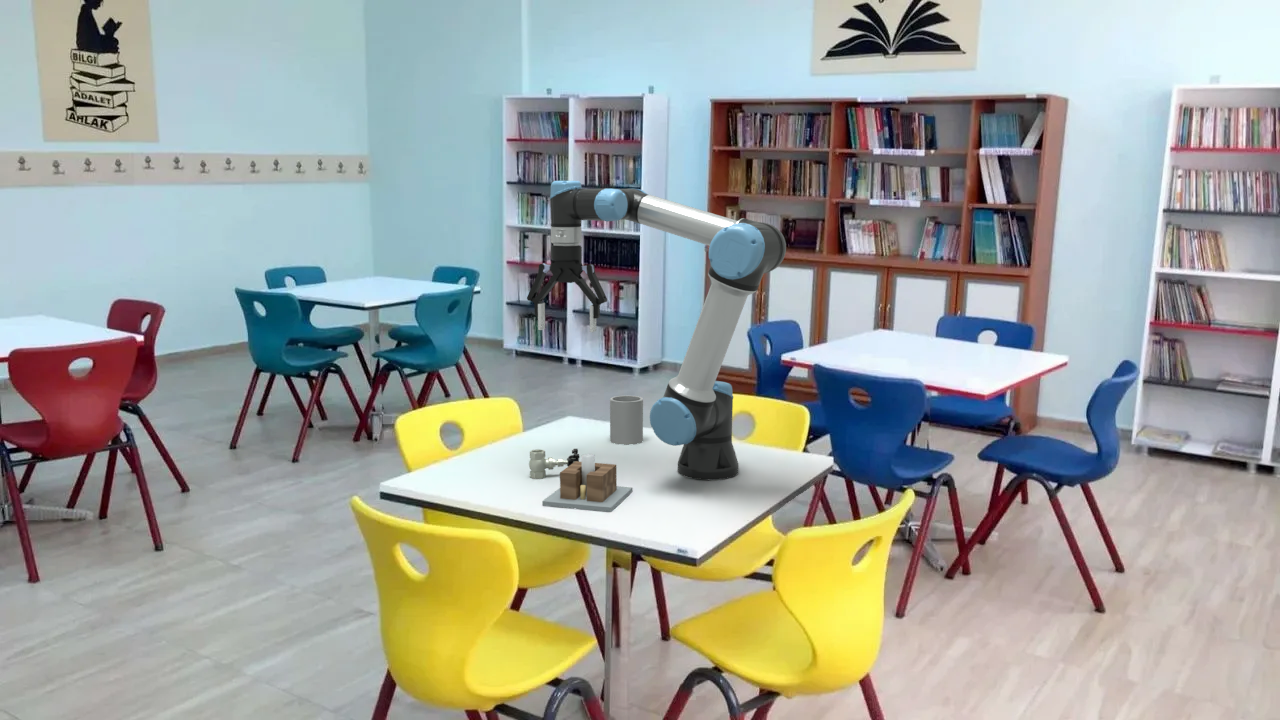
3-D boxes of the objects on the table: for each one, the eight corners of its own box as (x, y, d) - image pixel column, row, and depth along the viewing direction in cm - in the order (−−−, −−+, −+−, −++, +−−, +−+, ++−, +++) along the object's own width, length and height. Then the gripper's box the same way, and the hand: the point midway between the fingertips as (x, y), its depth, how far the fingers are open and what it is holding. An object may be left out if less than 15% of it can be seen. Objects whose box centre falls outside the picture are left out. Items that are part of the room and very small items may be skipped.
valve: (531, 481, 248) (580, 478, 251) (530, 454, 247) (580, 451, 250) (527, 474, 255) (575, 471, 258) (527, 448, 254) (575, 445, 256)
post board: (632, 491, 240) (632, 449, 238) (610, 512, 225) (610, 467, 223) (567, 485, 244) (567, 444, 243) (542, 505, 229) (541, 461, 227)
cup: (607, 444, 284) (607, 401, 283) (613, 436, 293) (613, 395, 291) (639, 445, 283) (640, 402, 281) (645, 437, 292) (645, 396, 290)
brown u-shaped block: (575, 486, 240) (575, 461, 239) (616, 489, 238) (616, 464, 237) (560, 498, 231) (560, 472, 230) (602, 502, 228) (602, 476, 227)
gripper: (513, 244, 252) (514, 330, 256) (609, 246, 245) (610, 334, 249) (525, 242, 259) (526, 326, 263) (619, 244, 252) (619, 330, 256)
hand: (567, 330), depth 256 cm, fingers open, 13 cm apart
